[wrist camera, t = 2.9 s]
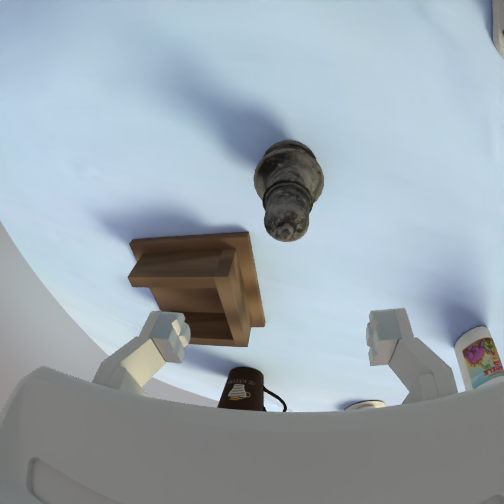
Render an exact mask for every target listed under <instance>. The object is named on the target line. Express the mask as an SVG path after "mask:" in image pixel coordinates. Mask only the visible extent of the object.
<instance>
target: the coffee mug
mask: <svg viewBox="0 0 504 504" xmlns="http://www.w3.org/2000/svg"><path fill="white" fill-rule="evenodd" d="M264 392H267V393H268V394H270V395H272V396H273V397H275V398H276V399H278V400H279V401H280V402H281V403H282V404H283V406H284V410H283V412H286V410H287V406H286V404H285V402H284V401H283V400H282V399H281V398H280V397H279V396H277V395H276V394H274V393H273V392H271V391H269V390H268V389H266V388H265V387H264V377H263V374H262V373H261V372H260V371H258V370H256V369H253V368H249V367H236V368H233V369H232V370H231V371H230V373H229V376H228V379H227V382H226V385H225V387H224V390H223V393H222V396H221V399H220V401H219V404H218V407H217V408H224V409H235V410H248V411H266V409H265V407H264ZM266 412H267V411H266Z"/></svg>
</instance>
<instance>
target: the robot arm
mask: <svg viewBox="0 0 504 504" xmlns="http://www.w3.org/2000/svg"><path fill="white" fill-rule="evenodd" d="M492 9H493V42H494V44H495V46H496V48H497V50H498V51H499V52H500V54H501V55H502V56H503V57H504V35H503V33H504V0H492ZM502 31H503V33H502ZM369 319H370V322H369V323H368V324H367V329H366V340H367V345H368V346H369V347H370V349H369V353H368V354H369V360H370V366H375V365H389V367H390V368H391V369H392V370H393V371H394V373H395V374H396V375H397V376H398V378H399V379H400V380H401V381H402V383H403V384H404V385H405V386H406V388H407V389H408V390H409V394H408V395H407V397H406V398H405V400H404V401H403V403H402V405H395V406H388V407H380V408H371V409H361V410H348V411H331V412H266V411H248V410H235V409H224V408H215V407H206V406H199V405H192V404H185V403H179V402H173V401H167V400H162V399H157V398H152V397H148V395H147V393H146V392H145V391H144V390H143V389H142V386H143V385H144V384H145V383H146V382H147V381H148V380H149V379H150V378H151V377H152V376H153V375H154V374H155V373H156V372H157V371H158V370H159V369H160V368H161V367H162V366H163V365H164V364H165V363H166V362H173V363H182V362H183V359H184V356H185V353H186V351H185V349H184V347H186V346H187V345H188V344H189V341H190V334H191V333H190V328H189V325H188V324H187V323H185V322H184V320H185V317H184V315H183V313H175V312H161V311H152V312H151V313H150V314H149V316H148V318H147V320H146V322H145V325H144V327H143V329H142V331H141V333H140V335H139V337H135V338H134V339H132V340H131V341H130V342H128V343H127V344H126V345H124V346H123V347H121V348H120V349H119V350H117V351H116V352H115V353H113V354H112V355H111V356H109V357H108V358H107V359H105V360H104V361H103V362H102V363H101V365H100V367H99V369H98V371H97V373H96V375H95V377H94V379H93V381H92V382H89V381H85V380H83V379H79V378H77V377H74V376H71V375H68V374H64V373H62V372H59V371H56V370H54V369H51V368H49V367H45V366H42V367H39V368H37V369H36V370H34V371H32V372H31V373H29V374H28V375H26V376H25V377H24V378H22V379H21V380H20V381H19V382H18V384H17V385H16V387H15V388H14V390H13V391H12V393H11V395H10V396H9V398H8V400H7V402H6V404H5V405H4V407H3V409H2V411H1V413H0V504H504V380H501V381H498V382H495V383H492V384H489V385H486V386H482V387H479V388H475V389H472V390H468V391H465V392H461V393H458V391H457V387H456V383H455V379H454V375H453V372H452V369H451V368H450V367H449V366H448V365H447V364H446V363H445V362H444V361H443V360H442V359H441V358H440V357H438V356H437V355H436V354H435V353H434V352H433V351H432V350H431V349H430V348H428V347H427V346H426V345H425V344H424V343H423V342H422V341H421V340H420V339H418V338H417V337H415V338H414V335H413V332H412V329H411V325H410V322H409V319H408V316H407V313H406V310H405V309H404V308H399V309H386V310H374V311H371V312H370V315H369Z"/></svg>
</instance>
